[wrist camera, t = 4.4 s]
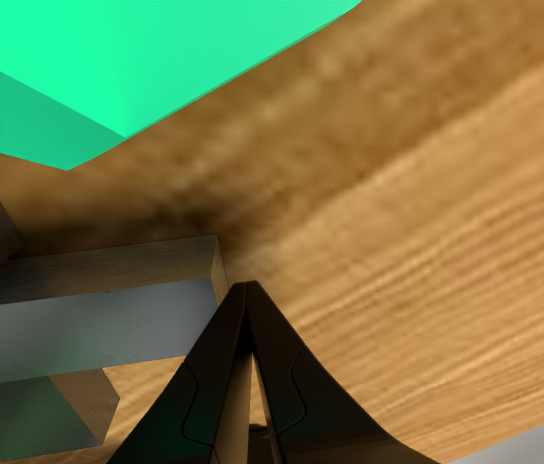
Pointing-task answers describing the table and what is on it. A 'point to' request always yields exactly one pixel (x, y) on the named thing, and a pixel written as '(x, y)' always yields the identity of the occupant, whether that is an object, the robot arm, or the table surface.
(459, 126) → the table surface
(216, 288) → the grey rectangular block
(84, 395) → the socket block
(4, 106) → the camera mount
